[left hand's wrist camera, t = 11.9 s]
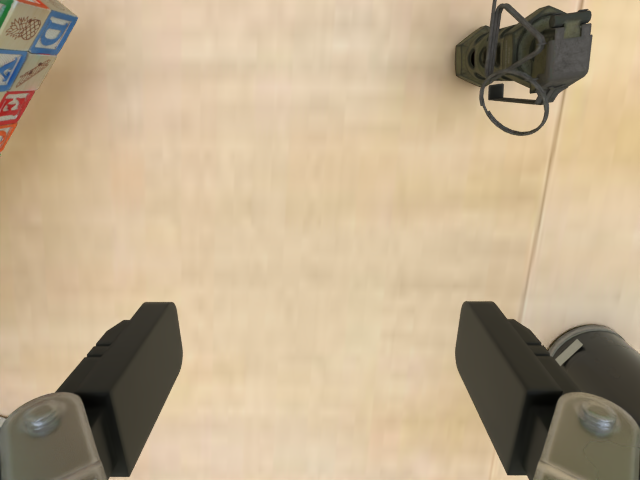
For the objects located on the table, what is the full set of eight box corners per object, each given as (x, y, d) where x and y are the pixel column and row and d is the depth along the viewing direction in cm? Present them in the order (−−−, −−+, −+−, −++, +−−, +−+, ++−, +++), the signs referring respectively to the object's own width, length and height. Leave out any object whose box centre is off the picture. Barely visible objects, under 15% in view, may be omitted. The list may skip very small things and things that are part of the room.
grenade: (438, 22, 37) (511, -12, 23) (504, 13, 37) (618, -27, 23) (440, 123, 40) (504, 147, 26) (500, 115, 40) (598, 136, 26)
